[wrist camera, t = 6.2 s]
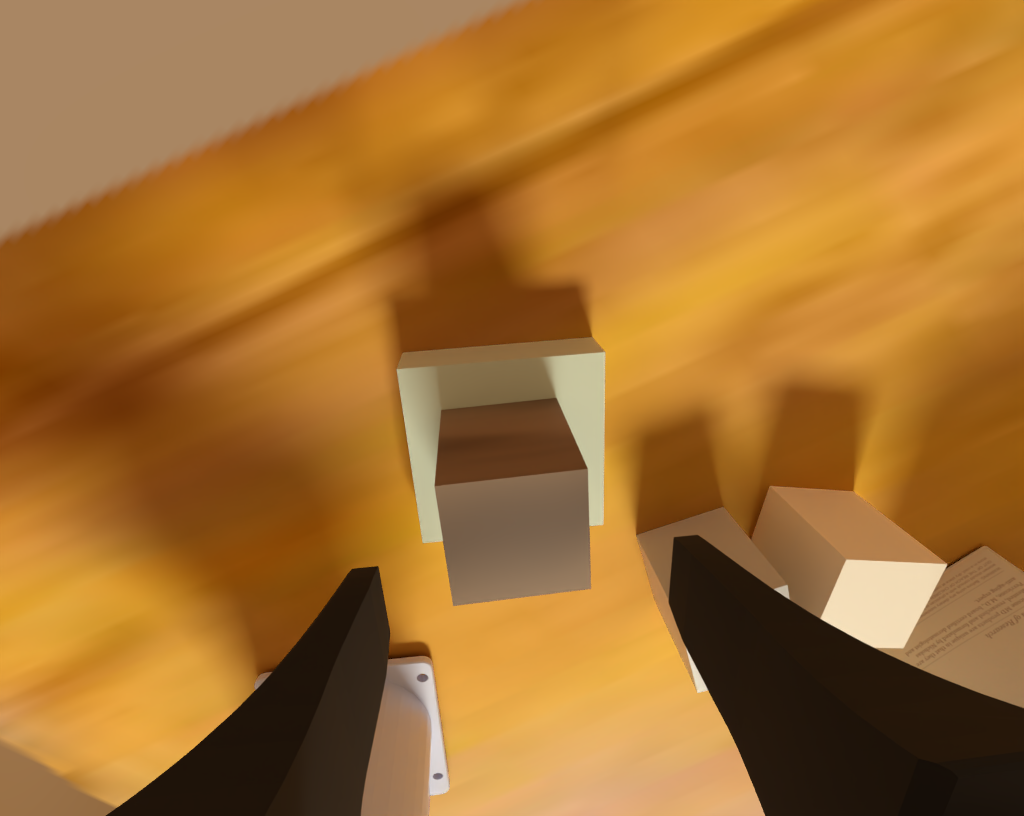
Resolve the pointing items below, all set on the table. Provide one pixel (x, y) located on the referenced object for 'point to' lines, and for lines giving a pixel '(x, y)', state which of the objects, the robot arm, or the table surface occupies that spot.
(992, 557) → the supplement box
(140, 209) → the table surface
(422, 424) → the sage slab
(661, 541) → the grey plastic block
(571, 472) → the walnut block
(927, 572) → the cream block
